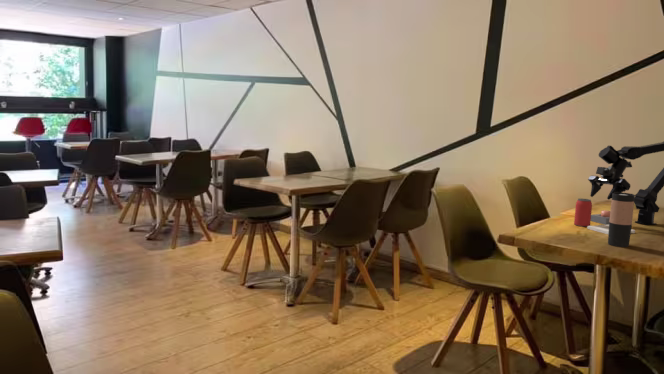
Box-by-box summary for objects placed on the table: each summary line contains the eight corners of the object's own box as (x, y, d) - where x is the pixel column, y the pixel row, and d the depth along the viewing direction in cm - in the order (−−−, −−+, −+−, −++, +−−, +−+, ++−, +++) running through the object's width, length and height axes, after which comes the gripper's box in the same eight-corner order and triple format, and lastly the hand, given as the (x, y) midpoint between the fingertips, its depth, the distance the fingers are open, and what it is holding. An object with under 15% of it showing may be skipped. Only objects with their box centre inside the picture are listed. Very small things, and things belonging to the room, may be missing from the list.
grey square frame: (604, 219, 245) (605, 213, 244) (620, 223, 236) (621, 217, 236) (590, 220, 242) (590, 214, 242) (605, 224, 234) (606, 218, 233)
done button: (605, 217, 242) (606, 210, 241) (612, 219, 238) (613, 211, 237) (598, 218, 240) (599, 210, 240) (605, 219, 236) (606, 212, 236)
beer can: (591, 227, 227) (594, 201, 225) (576, 226, 228) (578, 200, 227) (587, 224, 233) (590, 198, 232) (572, 223, 235) (574, 198, 233)
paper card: (611, 226, 229) (611, 224, 229) (634, 232, 218) (635, 230, 217) (587, 228, 224) (587, 225, 224) (609, 234, 213) (610, 232, 213)
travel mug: (602, 242, 200) (607, 192, 197) (621, 242, 201) (626, 192, 198) (615, 247, 192) (620, 195, 190) (634, 247, 193) (639, 195, 190)
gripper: (589, 158, 239) (573, 185, 237) (624, 160, 221) (606, 189, 219) (603, 172, 242) (586, 199, 241) (638, 175, 225) (621, 204, 223)
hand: (599, 197), depth 231 cm, fingers open, 9 cm apart
